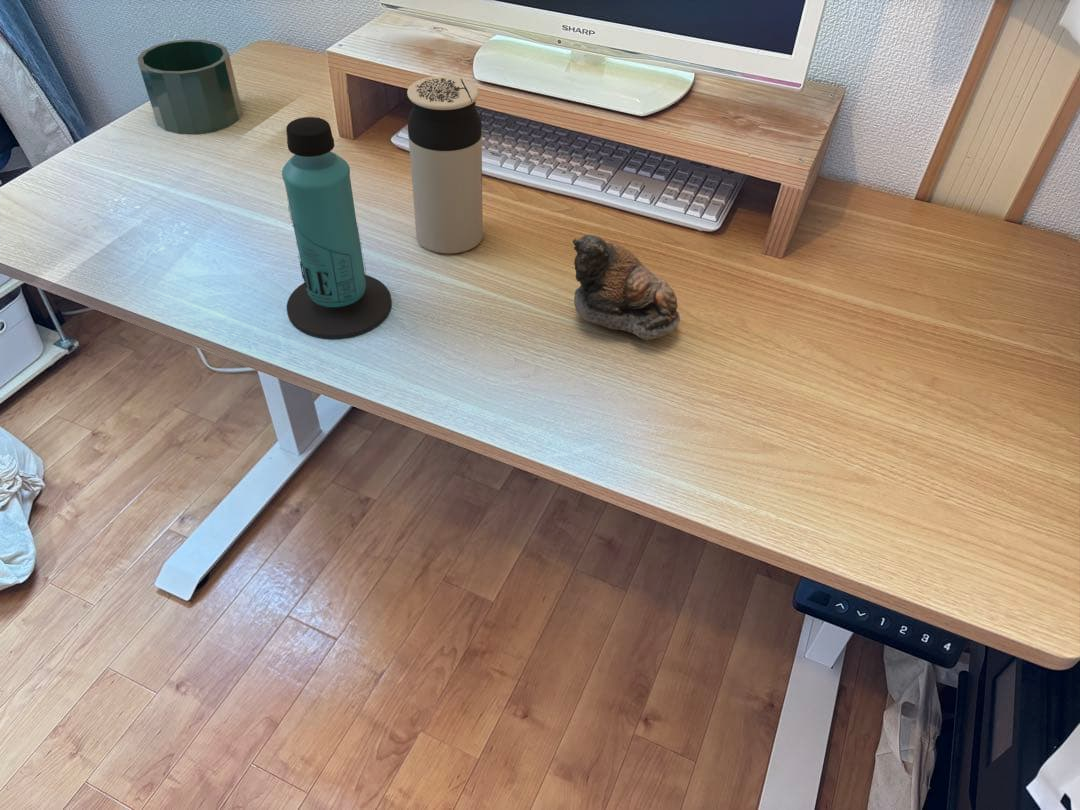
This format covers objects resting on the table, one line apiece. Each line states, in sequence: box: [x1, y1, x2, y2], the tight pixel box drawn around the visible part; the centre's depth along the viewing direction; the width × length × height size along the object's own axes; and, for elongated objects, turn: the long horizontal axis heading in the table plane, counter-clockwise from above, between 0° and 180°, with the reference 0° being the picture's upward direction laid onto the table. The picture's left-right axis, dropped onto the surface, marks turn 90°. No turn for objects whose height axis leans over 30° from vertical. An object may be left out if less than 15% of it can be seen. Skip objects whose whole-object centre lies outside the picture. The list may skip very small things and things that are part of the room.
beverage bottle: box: [281, 116, 367, 307], centre depth 78 cm, size 6×7×20 cm
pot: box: [136, 38, 243, 135], centre depth 109 cm, size 11×11×10 cm
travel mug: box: [406, 75, 484, 254], centre depth 89 cm, size 8×8×18 cm
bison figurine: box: [572, 234, 681, 341], centre depth 81 cm, size 12×7×10 cm, turn 75°
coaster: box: [286, 274, 393, 340], centre depth 85 cm, size 11×11×1 cm
